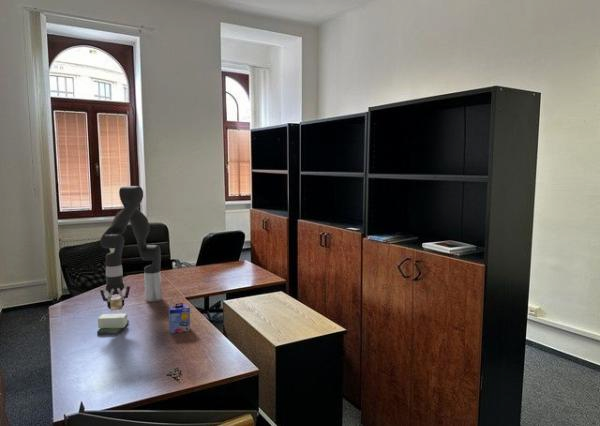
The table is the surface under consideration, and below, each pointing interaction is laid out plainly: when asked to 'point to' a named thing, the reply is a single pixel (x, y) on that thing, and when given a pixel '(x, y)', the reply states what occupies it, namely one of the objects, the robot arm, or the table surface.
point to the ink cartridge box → (179, 318)
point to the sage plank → (112, 321)
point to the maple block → (116, 303)
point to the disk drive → (110, 330)
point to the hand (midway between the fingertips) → (116, 307)
